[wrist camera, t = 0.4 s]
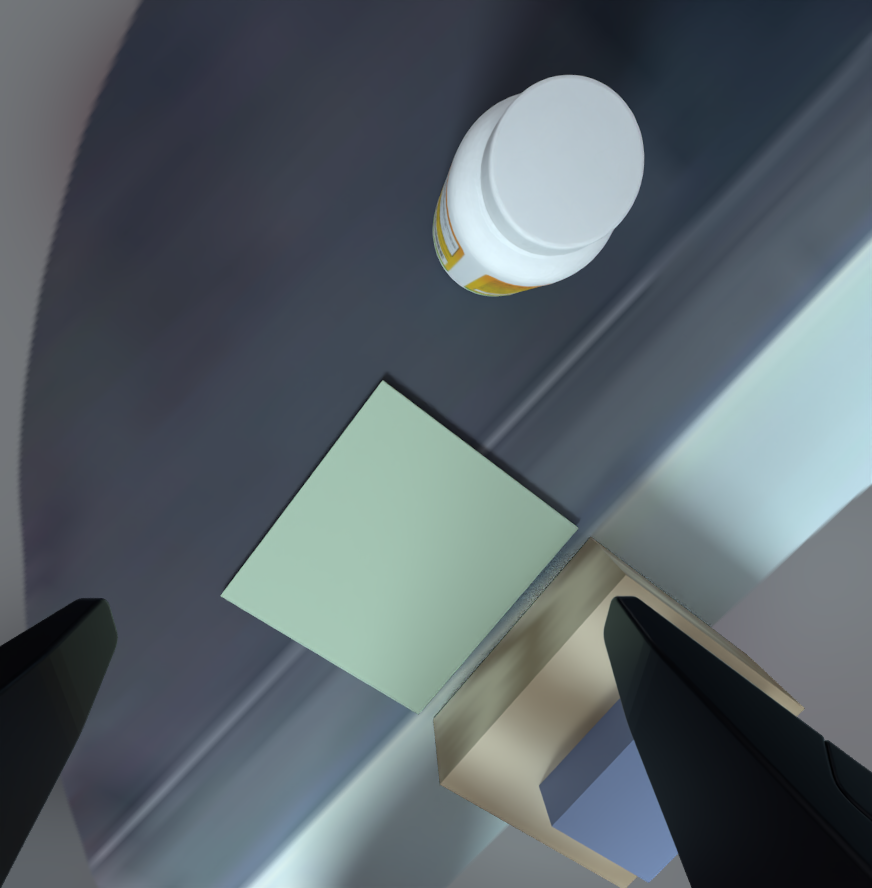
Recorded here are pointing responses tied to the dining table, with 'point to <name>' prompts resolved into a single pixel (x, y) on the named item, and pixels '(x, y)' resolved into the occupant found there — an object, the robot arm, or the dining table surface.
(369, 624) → the mat
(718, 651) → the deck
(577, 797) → the periwinkle blue block
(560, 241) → the supplement bottle
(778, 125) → the dining table surface
